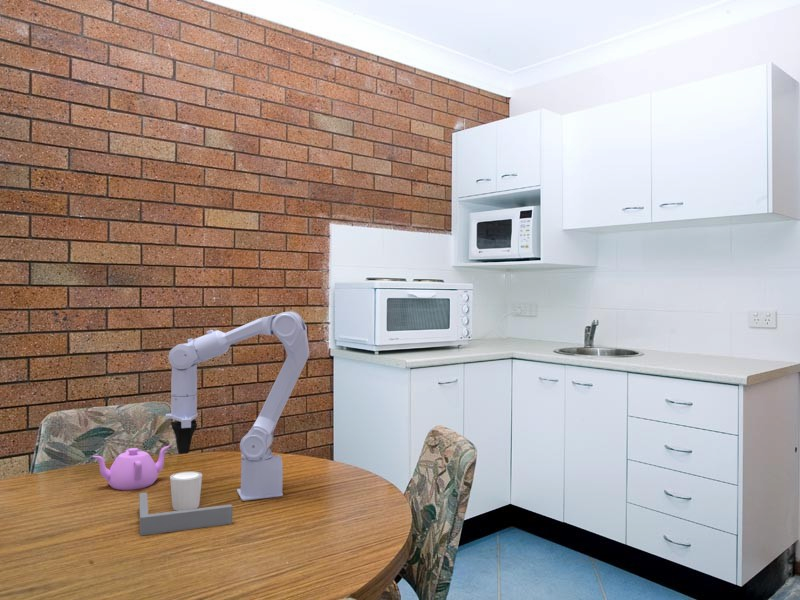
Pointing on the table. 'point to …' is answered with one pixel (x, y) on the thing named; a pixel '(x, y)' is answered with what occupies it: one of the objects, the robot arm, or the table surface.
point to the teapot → (132, 469)
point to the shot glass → (185, 490)
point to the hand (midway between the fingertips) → (183, 452)
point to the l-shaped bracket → (181, 518)
